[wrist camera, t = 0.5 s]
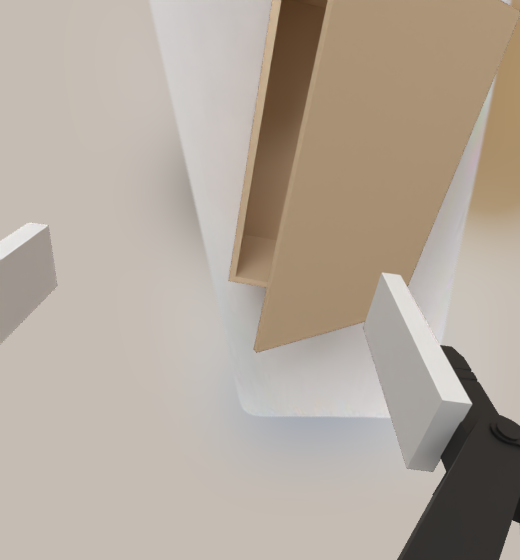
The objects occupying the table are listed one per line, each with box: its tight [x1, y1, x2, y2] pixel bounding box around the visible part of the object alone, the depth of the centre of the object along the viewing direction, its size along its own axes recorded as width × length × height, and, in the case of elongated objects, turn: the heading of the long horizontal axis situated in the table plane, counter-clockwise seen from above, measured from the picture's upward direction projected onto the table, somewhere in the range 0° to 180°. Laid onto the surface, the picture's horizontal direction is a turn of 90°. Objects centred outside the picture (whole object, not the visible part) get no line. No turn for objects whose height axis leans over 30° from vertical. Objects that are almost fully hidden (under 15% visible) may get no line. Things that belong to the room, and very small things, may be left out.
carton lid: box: [254, 0, 520, 353], centre depth 27 cm, size 24×16×1 cm
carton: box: [228, 0, 328, 287], centre depth 36 cm, size 24×16×11 cm, turn 170°
